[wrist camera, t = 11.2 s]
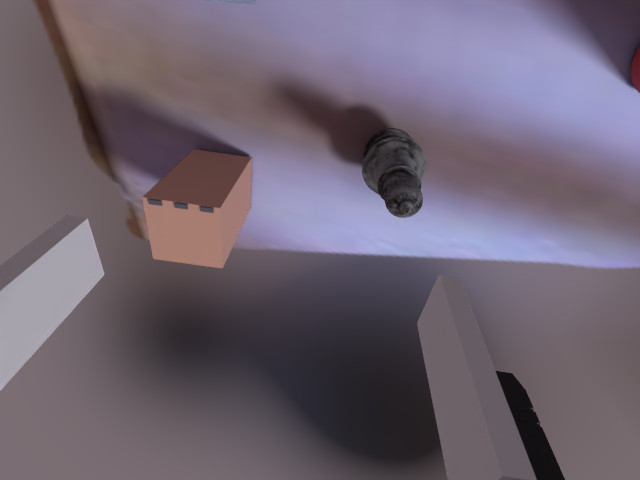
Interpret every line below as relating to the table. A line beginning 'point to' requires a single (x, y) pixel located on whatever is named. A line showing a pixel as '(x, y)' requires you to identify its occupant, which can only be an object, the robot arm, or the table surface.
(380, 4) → the table surface
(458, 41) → the table surface
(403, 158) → the dark rounded upright piece
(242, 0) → the gray rectangular box
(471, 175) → the table surface
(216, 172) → the stub
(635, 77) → the beer can
